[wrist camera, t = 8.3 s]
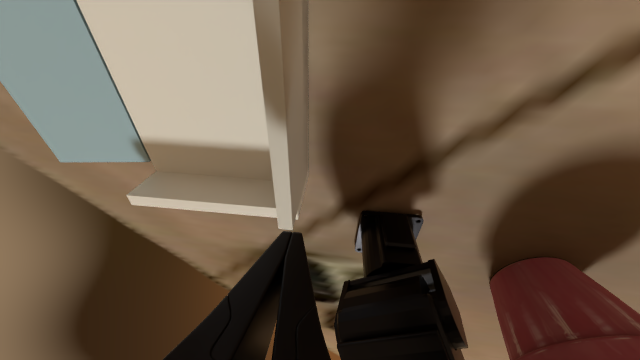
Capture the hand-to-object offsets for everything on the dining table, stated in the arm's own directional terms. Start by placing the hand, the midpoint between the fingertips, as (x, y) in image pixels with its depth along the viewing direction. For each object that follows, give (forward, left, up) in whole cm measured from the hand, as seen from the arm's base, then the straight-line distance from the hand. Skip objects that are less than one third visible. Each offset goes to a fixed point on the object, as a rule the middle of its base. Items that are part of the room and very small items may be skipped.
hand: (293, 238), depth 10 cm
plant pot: (-18, -27, -12) cm, 35 cm away
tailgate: (+5, +15, -10) cm, 18 cm away
